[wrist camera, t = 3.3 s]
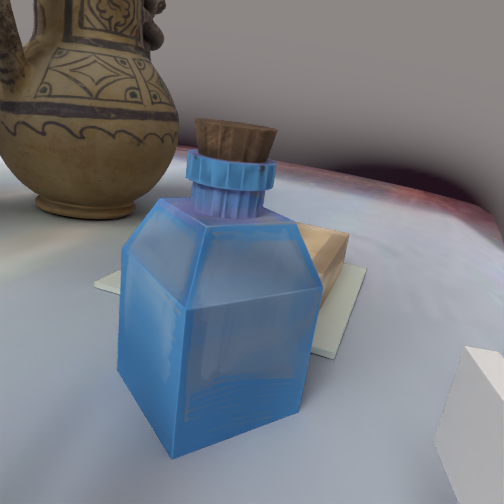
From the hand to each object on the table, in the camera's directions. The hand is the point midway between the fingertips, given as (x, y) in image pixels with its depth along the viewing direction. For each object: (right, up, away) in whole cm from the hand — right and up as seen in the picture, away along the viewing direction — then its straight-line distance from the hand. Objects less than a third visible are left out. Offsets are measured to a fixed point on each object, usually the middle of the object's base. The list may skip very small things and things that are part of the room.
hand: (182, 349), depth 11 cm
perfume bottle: (-1, -4, +10) cm, 11 cm away
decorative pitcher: (-16, +7, +36) cm, 39 cm away
